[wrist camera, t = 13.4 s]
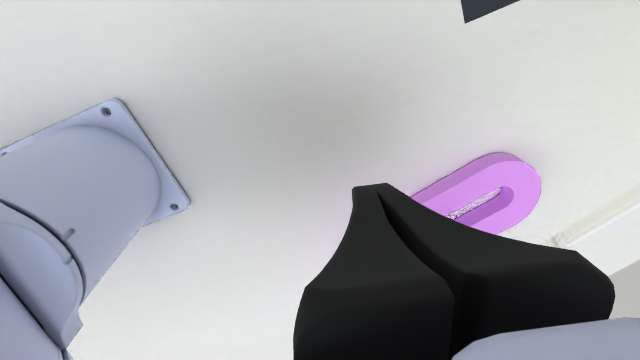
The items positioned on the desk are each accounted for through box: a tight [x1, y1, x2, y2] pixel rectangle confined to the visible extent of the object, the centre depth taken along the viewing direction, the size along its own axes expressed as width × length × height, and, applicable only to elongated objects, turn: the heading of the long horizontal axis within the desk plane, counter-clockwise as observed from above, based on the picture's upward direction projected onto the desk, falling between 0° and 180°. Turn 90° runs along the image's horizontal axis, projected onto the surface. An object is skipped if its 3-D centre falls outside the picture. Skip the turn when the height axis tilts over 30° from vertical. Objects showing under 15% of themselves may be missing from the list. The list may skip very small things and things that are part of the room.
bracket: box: [410, 153, 541, 235], centre depth 21 cm, size 13×6×7 cm, turn 124°
